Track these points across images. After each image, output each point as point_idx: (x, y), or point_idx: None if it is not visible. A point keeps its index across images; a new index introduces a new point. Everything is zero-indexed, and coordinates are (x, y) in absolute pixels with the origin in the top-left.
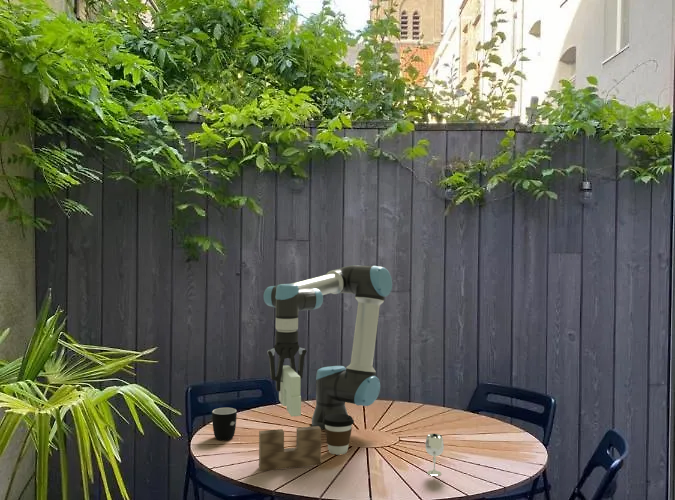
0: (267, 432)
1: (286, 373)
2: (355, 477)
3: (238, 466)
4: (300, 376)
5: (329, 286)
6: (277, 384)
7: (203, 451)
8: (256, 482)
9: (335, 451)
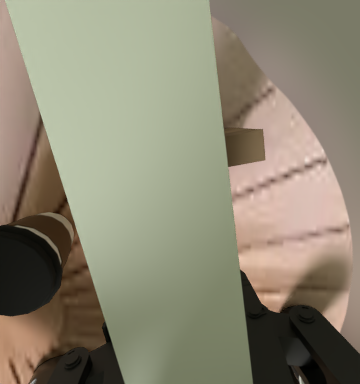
0: (240, 141)
1: (229, 209)
2: (5, 63)
3: (275, 160)
4: (72, 363)
5: None
6: (252, 296)
7: (338, 250)
8: (242, 58)
9: (55, 214)
